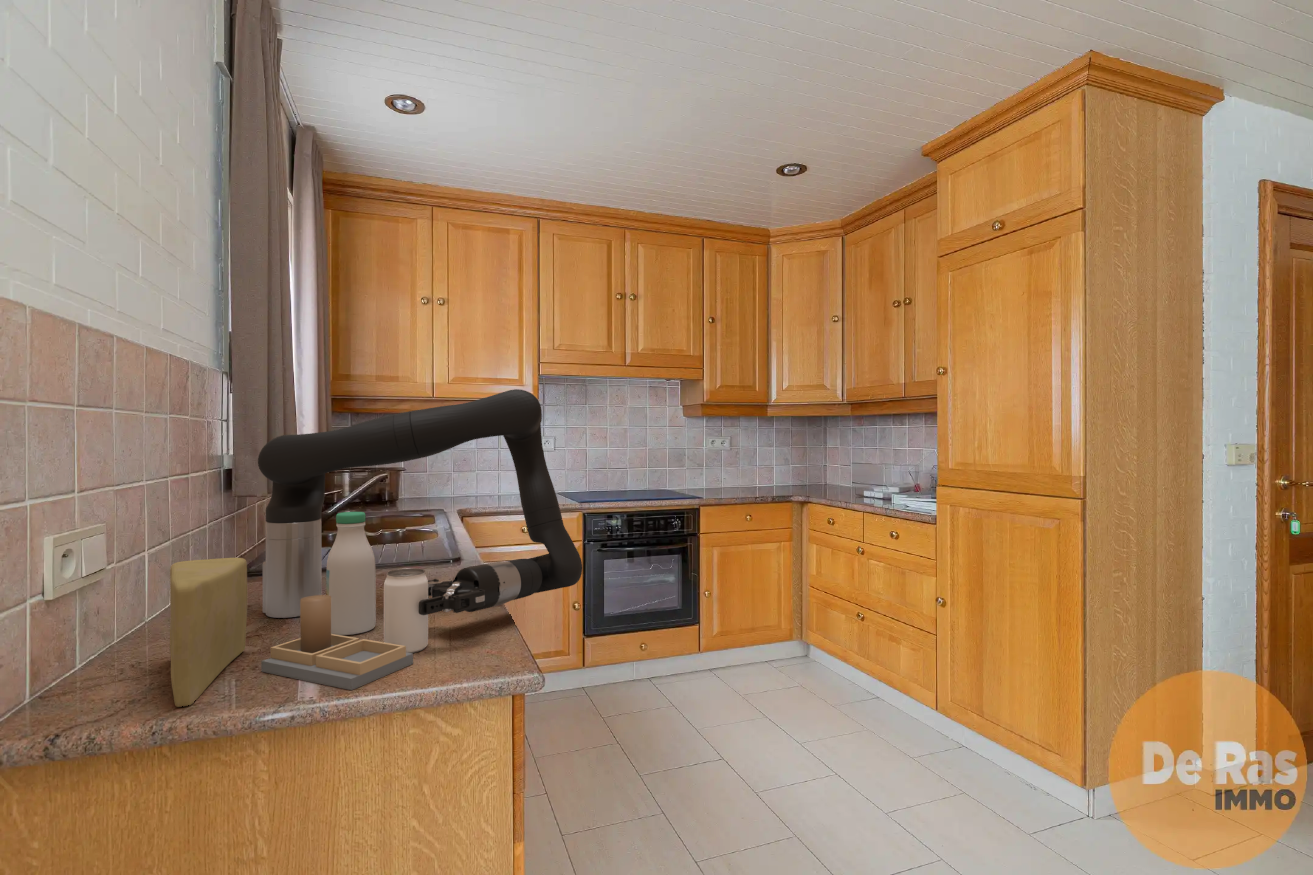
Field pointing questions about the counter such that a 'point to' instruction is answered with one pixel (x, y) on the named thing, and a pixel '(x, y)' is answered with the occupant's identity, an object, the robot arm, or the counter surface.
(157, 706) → the counter surface
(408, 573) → the can
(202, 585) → the cheese
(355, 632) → the milk bottle
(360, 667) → the socket board
